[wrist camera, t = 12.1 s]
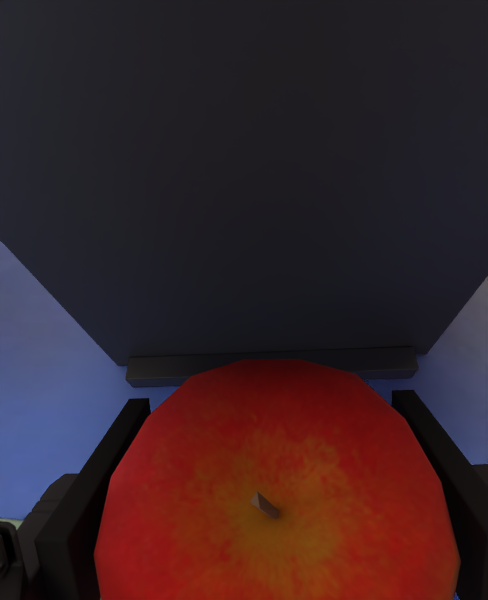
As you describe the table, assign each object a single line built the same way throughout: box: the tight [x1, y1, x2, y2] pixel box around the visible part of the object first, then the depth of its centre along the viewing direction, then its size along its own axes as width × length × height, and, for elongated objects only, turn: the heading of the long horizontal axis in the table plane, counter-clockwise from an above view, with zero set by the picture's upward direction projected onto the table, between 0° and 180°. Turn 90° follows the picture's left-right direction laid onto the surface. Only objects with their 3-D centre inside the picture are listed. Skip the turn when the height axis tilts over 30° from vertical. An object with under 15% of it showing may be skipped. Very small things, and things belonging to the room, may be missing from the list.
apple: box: [93, 359, 461, 600], centre depth 12 cm, size 9×8×12 cm
